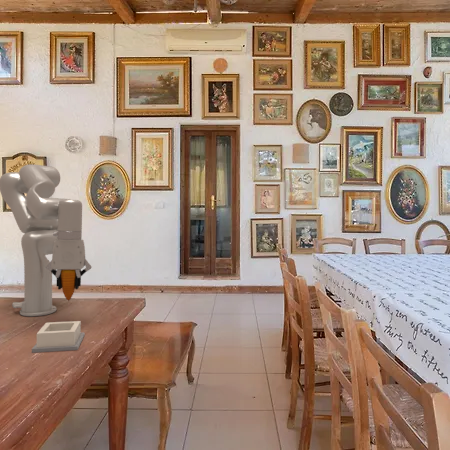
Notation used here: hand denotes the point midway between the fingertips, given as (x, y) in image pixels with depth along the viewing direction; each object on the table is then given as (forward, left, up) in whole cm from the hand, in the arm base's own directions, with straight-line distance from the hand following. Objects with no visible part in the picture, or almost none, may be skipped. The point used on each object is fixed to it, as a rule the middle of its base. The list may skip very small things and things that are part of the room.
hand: (68, 287), depth 123 cm
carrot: (0, 0, -5) cm, 5 cm away
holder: (+1, -18, -13) cm, 22 cm away
